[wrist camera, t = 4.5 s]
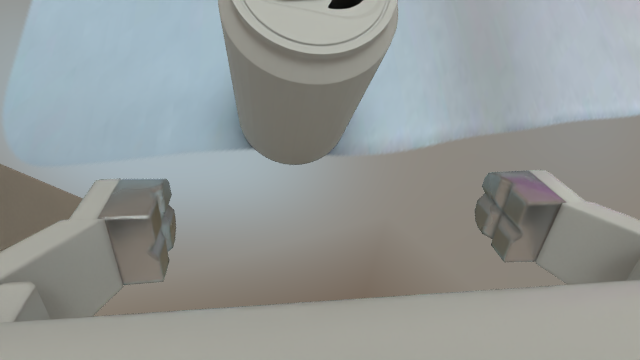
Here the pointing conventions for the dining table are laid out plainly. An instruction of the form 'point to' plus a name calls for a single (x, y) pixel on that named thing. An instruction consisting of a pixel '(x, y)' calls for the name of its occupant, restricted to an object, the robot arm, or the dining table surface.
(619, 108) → the dining table surface
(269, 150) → the beverage can
